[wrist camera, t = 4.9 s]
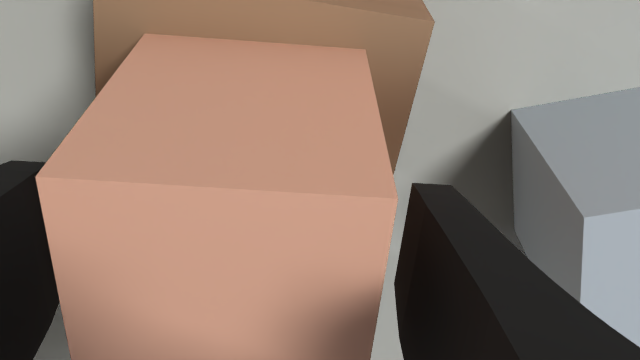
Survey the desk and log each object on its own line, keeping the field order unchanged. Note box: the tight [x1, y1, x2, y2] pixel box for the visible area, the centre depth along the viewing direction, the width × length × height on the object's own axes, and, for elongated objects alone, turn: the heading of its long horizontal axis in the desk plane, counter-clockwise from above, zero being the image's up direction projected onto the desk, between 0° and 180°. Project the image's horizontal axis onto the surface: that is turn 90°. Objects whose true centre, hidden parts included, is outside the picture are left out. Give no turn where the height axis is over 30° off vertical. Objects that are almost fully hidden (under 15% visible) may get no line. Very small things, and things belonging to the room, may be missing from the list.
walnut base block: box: [93, 0, 435, 174], centre depth 14 cm, size 6×6×4 cm
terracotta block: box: [35, 34, 398, 360], centre depth 10 cm, size 4×4×5 cm
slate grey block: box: [511, 87, 640, 347], centre depth 15 cm, size 4×4×5 cm
